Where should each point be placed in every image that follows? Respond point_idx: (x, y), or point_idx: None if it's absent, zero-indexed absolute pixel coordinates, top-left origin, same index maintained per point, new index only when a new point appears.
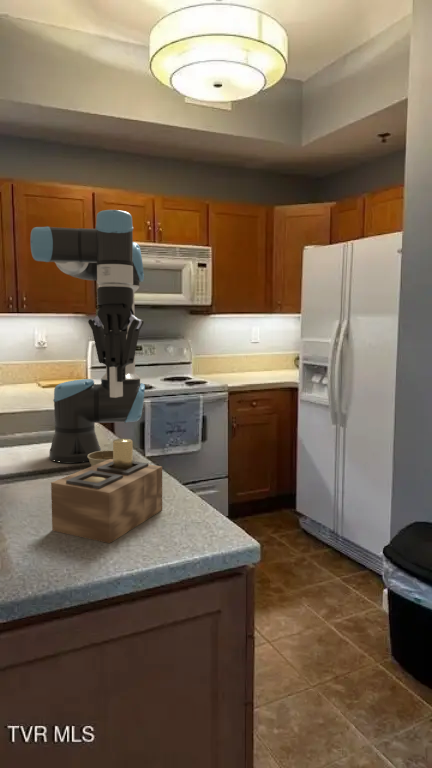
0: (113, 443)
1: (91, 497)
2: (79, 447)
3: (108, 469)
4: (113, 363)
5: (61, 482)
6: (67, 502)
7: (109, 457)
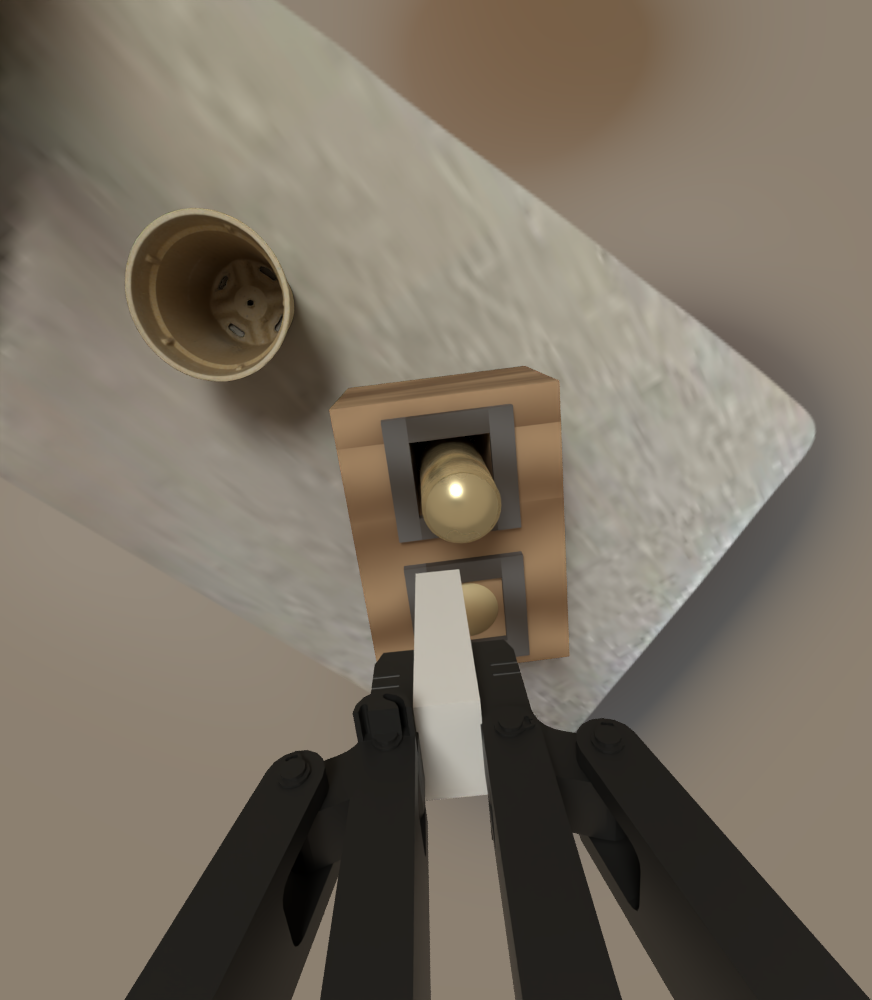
0: (442, 537)
1: None
2: None
3: None
4: (421, 779)
5: None
6: None
7: (172, 238)
